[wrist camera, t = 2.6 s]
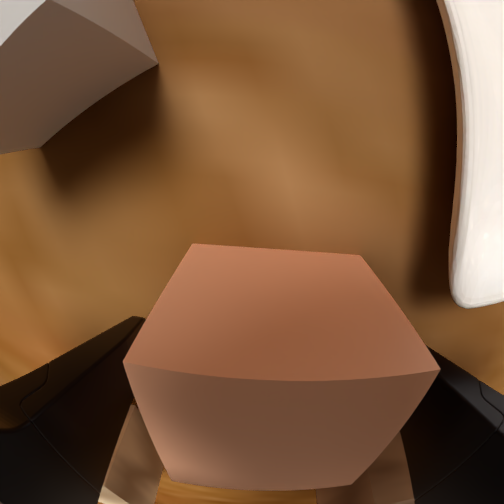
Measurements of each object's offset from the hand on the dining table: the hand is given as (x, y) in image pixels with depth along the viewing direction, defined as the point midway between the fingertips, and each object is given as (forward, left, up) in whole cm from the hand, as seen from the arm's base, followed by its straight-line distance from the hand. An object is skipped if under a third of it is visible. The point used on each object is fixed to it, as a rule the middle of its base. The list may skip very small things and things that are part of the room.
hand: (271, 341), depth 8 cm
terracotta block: (0, 0, -1) cm, 1 cm away
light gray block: (+9, +7, -1) cm, 11 cm away
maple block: (-9, +8, -1) cm, 12 cm away
